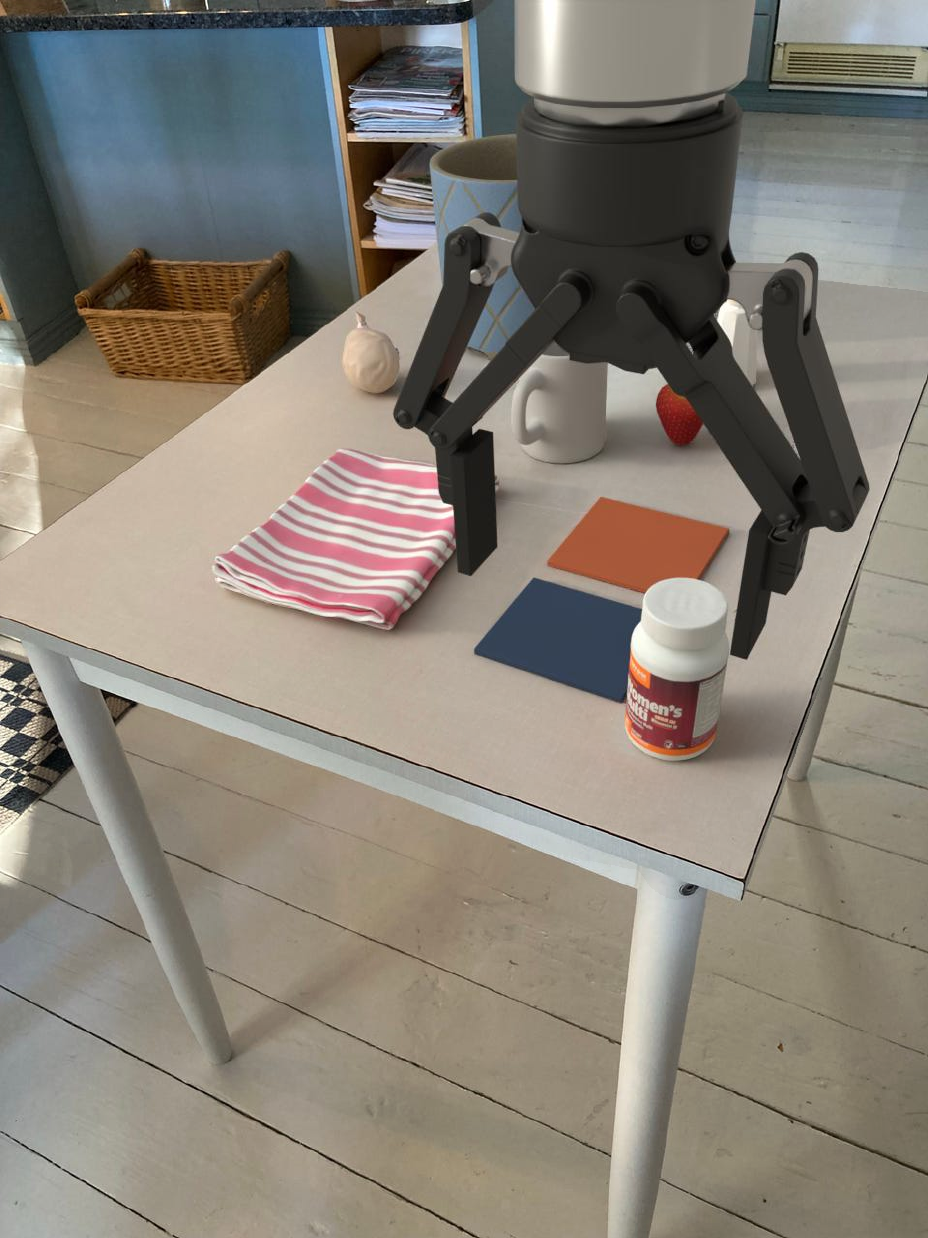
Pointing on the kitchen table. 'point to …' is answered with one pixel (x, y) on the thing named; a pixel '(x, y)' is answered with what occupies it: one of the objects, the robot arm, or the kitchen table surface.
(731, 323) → the pepper shaker
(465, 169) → the planter
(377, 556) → the dish towel
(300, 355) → the kitchen table surface
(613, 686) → the slate blue mat
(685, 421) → the fruit
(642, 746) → the pill bottle
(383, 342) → the garlic bulb
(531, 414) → the mug
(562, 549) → the terracotta mat
